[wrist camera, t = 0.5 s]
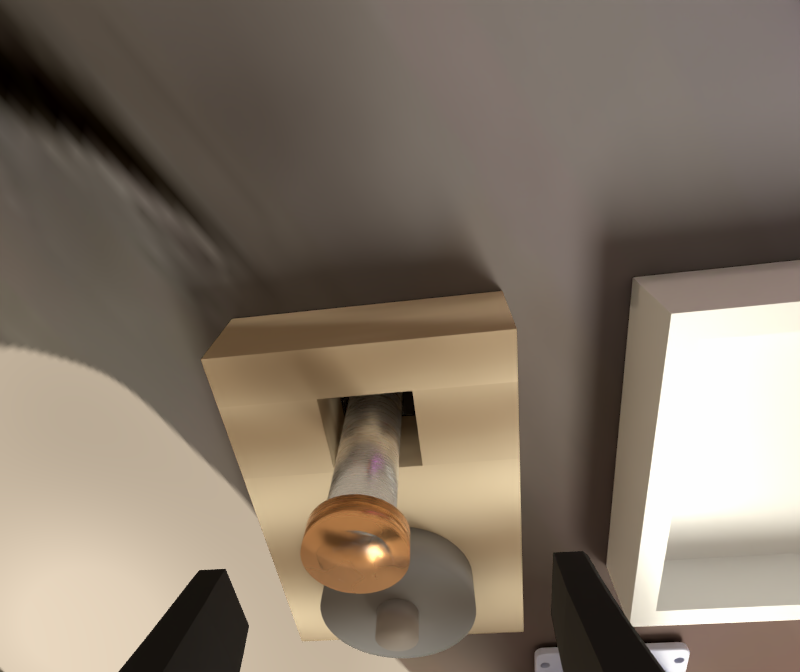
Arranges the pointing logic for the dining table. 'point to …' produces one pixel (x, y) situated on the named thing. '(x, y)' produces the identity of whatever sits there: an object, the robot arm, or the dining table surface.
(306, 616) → the block
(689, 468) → the tray
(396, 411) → the pin
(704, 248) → the dining table surface
